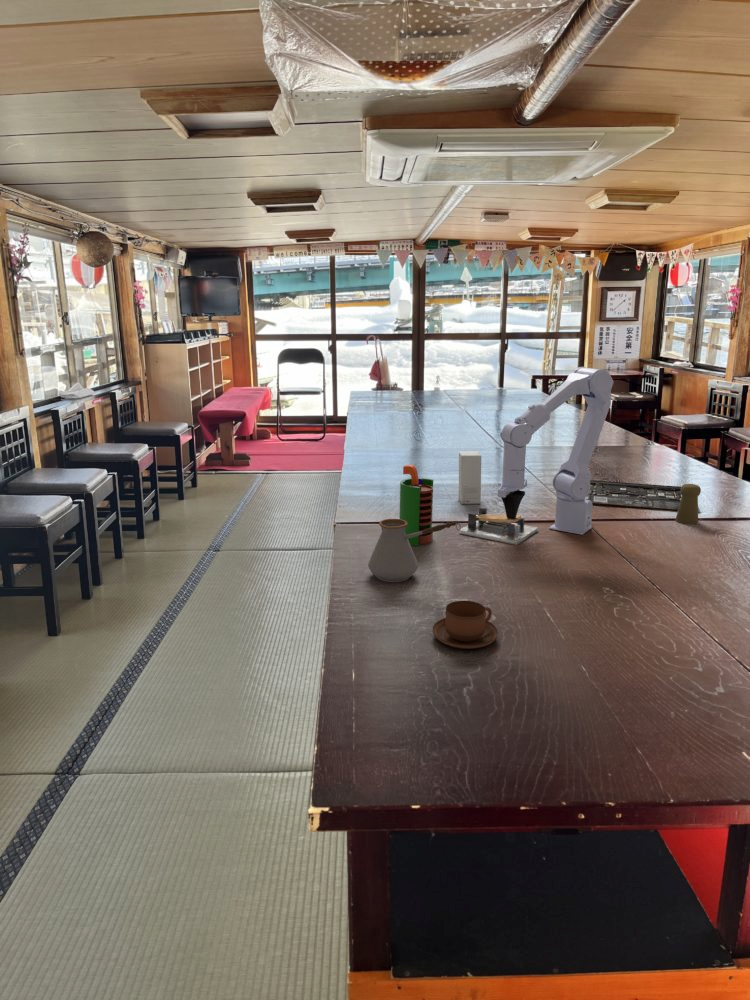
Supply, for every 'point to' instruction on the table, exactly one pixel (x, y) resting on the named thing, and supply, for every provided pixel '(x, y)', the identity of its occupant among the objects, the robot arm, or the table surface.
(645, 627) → the table surface
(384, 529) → the coffee pot
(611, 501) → the laptop interior
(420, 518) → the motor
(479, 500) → the skincare box
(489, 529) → the wooden bar fixture
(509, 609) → the table surface
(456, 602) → the cup and saucer
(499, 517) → the wooden board
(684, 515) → the cork
